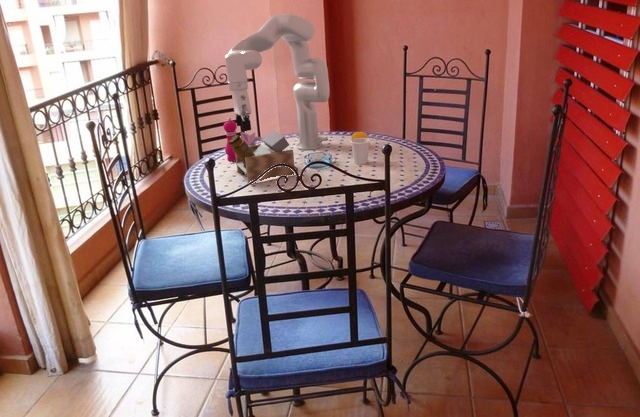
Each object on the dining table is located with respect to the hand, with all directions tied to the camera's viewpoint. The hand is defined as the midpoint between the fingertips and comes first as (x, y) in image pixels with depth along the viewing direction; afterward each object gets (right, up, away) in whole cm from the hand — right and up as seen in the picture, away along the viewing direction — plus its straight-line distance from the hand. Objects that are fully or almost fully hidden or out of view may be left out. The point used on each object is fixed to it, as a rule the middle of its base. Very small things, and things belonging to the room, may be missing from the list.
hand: (244, 128), depth 221 cm
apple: (+50, -3, +41) cm, 64 cm away
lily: (-4, -4, +49) cm, 49 cm away
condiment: (+2, -13, +5) cm, 14 cm away
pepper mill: (-9, -10, +34) cm, 36 cm away
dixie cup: (+49, -13, +17) cm, 53 cm away
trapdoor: (+8, -11, +7) cm, 15 cm away
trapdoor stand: (+9, -18, +10) cm, 22 cm away
